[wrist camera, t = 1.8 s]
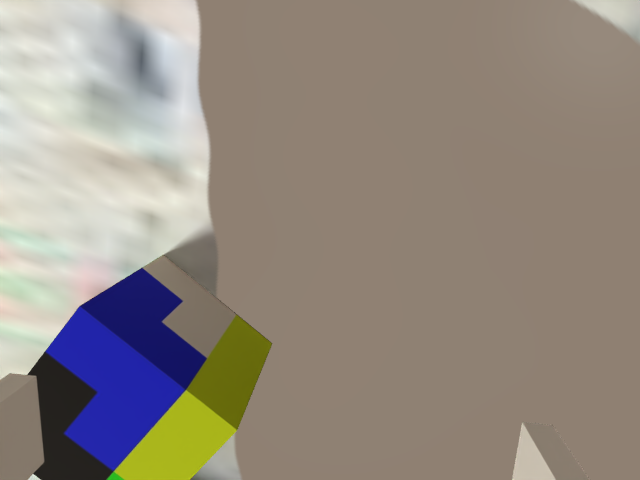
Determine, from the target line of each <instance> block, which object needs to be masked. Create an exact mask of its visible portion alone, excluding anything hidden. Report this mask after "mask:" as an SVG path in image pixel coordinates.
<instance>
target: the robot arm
mask: <svg viewBox="0 0 640 480" xmlns="http://www.w3.org/2000/svg"><path fill="white" fill-rule="evenodd" d="M43 463H44V453H43V442H42V431H41V421H40V410H39V399H38V388H37V378H36V376H32V375H21V374H11V373H10V374H8V375H7V376H5V377H4V378H3V379H1V380H0V480H28V478H29V477H30V476H31V475H32V474H33V473H34V472H35V471H36V470H37V469H38V468H39V467H40V466H41V465H42V464H43ZM512 480H590V479H589V477H588V476H587V474H586V473H585V472H584V470H583V469H582V467H581V466H580V464H579V463H578V461H577V460H576V458H575V457H574V455H573V454H572V452H571V451H570V450H569V448H568V447H567V445H566V444H565V442H564V441H563V439H562V438H561V436H560V435H559V433H558V432H557V430H556V429H555V428H554V426H553V425H546V424H536V423H525V422H523V423H522V427H521V433H520V439H519V444H518V450H517V456H516V461H515V467H514V472H513V478H512Z"/></svg>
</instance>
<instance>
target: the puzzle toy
mask: <svg viewBox="0 0 640 480" xmlns="http://www.w3.org/2000/svg"><path fill="white" fill-rule="evenodd" d="M271 345H272V343H271V342H270V341H269V340H268V339H266V338H265V337H264V336H263V335H262V334H260V333H259V332H258V331H257V330H255V329H254V328H253V327H252V326H251V325H249V324H248V323H247V322H246V321H244V320H243V319H242V318H241V317H240V316H238V315H237V314H236V313H235V312H233V311H232V310H231V309H230V308H229V307H227V306H226V305H225V304H224V303H222V302H221V301H220V300H219V299H218V298H216V297H214V296H213V295H212V294H211V293H210V292H208V291H207V290H206V289H205V288H203V287H202V286H201V285H200V284H199V283H197V282H196V281H195V280H194V279H192V278H191V277H190V276H189V275H188V274H186V273H185V272H184V271H183V270H181V269H180V268H179V267H178V266H177V265H175V264H174V263H173V262H172V261H170V260H169V259H168V258H167V257H166V256H164V255H162V256H160V257H159V258H157V259H156V260H154V261H152V262H151V263H149V264H147V265H146V266H144V267H143V268H141V269H139V270H138V271H136V272H134V273H133V274H131V275H130V276H128V277H126V278H125V279H123V280H121V281H120V282H118V283H116V284H115V285H113V286H112V287H110V288H108V289H107V290H105V291H103V292H102V293H100V294H99V295H97V296H95V297H94V298H92V299H90V300H89V301H87V302H86V303H84V304H82V305H81V306H79V308H78V309H77V310H76V312H75V313H74V314H73V316H72V317H71V318H70V320H69V321H68V322H67V323H66V325H65V326H64V327H63V329H62V330H61V331H60V333H59V334H58V335H57V337H56V338H55V339H54V341H53V342H52V343H51V344H50V346H49V347H48V348H47V350H46V351H45V352H44V354H43V355H42V356H41V358H40V359H39V360H38V362H37V363H36V364H35V365H34V367H33V368H32V369H31V371H30V372H29V373H28V375H32V376H36V378H37V388H38V399H39V410H40V421H41V431H42V442H43V453H44V463H43V464H42V465H41V466H40V467H39V468H38V469H37V470H36V471H35V472H34V473H33V474H34V475H36V476H37V477H38V478H40V479H41V480H190V479H191V478H192V477H193V476H194V475H195V474H196V473H197V472H198V471H199V470H200V469H201V468H202V466H203V465H204V464H205V463H206V462H207V461H208V460H209V459H210V458H211V457H212V456H213V455H214V454H215V453H216V452H217V451H218V450H219V449H220V448H221V447H222V446H223V444H224V443H225V442H226V441H227V440H228V439H229V438H230V437H231V436H232V435H233V434H234V433H235V432H236V431H237V429H238V427H239V424H240V422H241V419H242V417H243V414H244V412H245V410H246V407H247V405H248V402H249V400H250V397H251V395H252V392H253V390H254V387H255V385H256V382H257V380H258V377H259V375H260V373H261V370H262V368H263V365H264V362H265V360H266V358H267V355H268V353H269V350H270V348H271Z"/></svg>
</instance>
